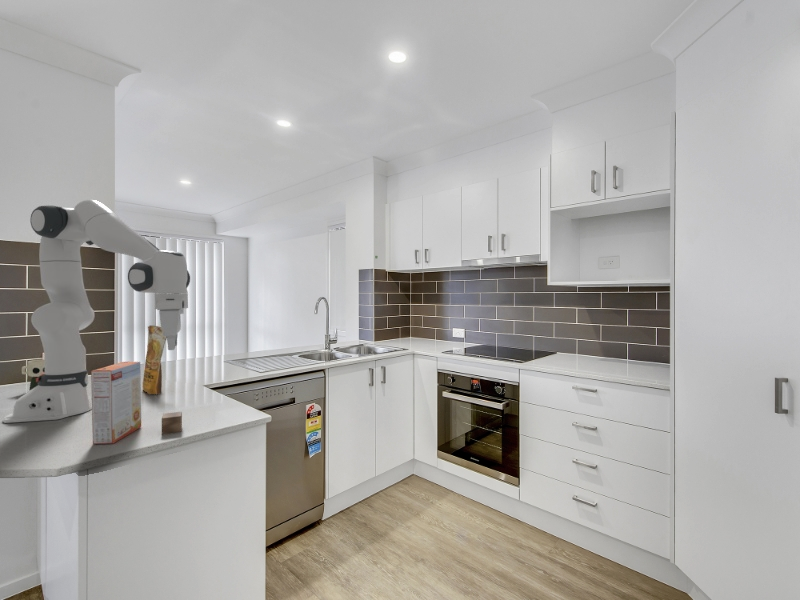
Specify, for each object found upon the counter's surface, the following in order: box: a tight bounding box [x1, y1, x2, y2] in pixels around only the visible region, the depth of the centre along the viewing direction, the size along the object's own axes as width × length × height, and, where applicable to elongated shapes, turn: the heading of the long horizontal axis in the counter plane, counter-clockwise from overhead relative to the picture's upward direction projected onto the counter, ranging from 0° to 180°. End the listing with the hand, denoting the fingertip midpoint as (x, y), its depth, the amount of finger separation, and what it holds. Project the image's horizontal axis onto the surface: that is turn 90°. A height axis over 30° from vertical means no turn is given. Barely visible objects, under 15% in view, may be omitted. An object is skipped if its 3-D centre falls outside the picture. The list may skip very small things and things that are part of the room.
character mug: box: [21, 359, 45, 391], centre depth 166 cm, size 11×7×13 cm, turn 143°
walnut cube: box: [161, 411, 183, 436], centre depth 119 cm, size 5×5×5 cm
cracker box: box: [90, 361, 142, 445], centre depth 114 cm, size 14×6×21 cm, turn 5°
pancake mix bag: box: [142, 325, 167, 395], centre depth 167 cm, size 7×19×28 cm, turn 46°
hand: (172, 347), depth 119 cm, fingers open, 8 cm apart
